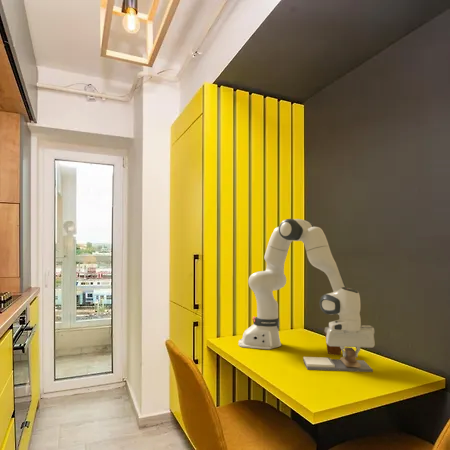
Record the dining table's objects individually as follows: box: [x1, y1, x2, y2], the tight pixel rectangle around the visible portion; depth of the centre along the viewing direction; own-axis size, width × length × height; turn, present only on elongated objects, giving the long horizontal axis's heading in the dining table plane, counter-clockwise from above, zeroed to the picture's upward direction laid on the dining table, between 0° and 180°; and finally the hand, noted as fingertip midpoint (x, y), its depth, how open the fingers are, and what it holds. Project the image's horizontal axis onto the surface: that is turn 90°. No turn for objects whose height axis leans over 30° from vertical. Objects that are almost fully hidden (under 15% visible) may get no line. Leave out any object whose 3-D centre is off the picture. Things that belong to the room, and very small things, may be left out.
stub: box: [339, 347, 361, 368], centre depth 156 cm, size 6×10×6 cm, turn 176°
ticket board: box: [302, 356, 374, 373], centre depth 156 cm, size 27×12×2 cm, turn 86°
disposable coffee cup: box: [324, 326, 342, 356], centre depth 175 cm, size 10×10×12 cm
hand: (350, 356), depth 155 cm, fingers closed on stub, 3 cm apart
